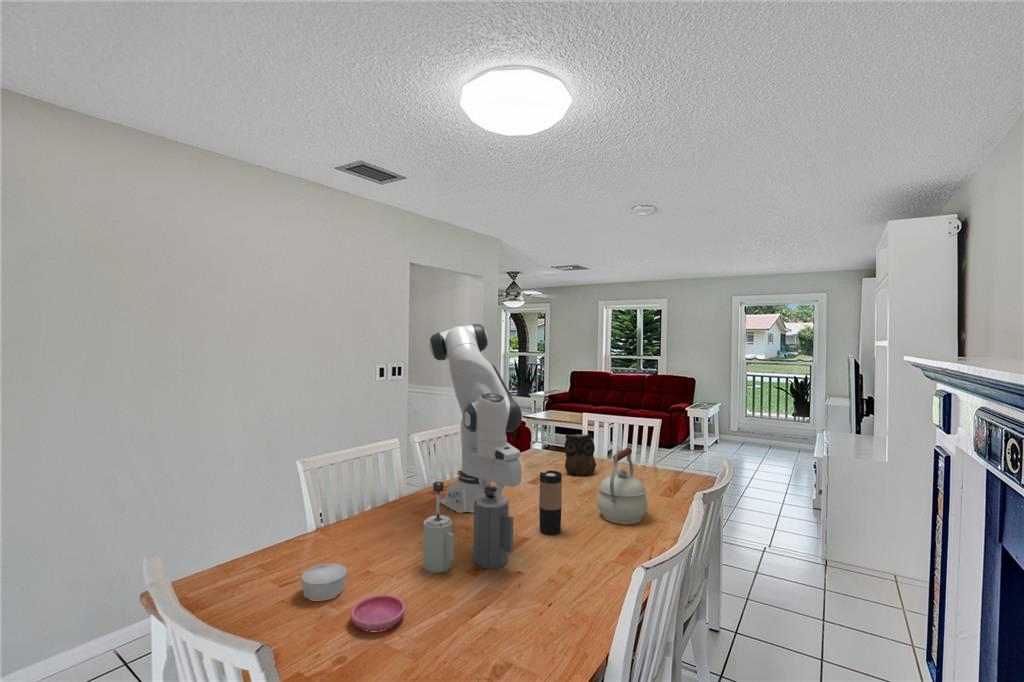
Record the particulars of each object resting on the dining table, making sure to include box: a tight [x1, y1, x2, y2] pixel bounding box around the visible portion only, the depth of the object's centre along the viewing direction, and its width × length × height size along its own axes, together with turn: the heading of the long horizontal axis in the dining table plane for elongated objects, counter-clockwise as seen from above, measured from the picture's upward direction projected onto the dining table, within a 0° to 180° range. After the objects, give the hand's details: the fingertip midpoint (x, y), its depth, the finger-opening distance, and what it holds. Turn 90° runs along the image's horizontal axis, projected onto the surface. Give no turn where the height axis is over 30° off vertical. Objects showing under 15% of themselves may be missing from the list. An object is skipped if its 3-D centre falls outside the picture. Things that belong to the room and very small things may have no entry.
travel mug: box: [538, 470, 563, 536], centre depth 170 cm, size 8×8×20 cm
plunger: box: [486, 485, 498, 501], centre depth 147 cm, size 4×4×13 cm
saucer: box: [350, 594, 406, 631], centre depth 116 cm, size 12×12×3 cm
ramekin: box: [300, 563, 348, 600], centre depth 128 cm, size 11×11×5 cm
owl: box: [564, 433, 597, 478], centre depth 240 cm, size 13×13×20 cm
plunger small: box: [432, 481, 445, 518], centre depth 143 cm, size 3×3×10 cm
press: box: [472, 495, 514, 570], centre depth 146 cm, size 13×11×18 cm
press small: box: [422, 514, 455, 574], centre depth 142 cm, size 10×8×14 cm
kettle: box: [596, 447, 648, 525], centre depth 185 cm, size 25×18×25 cm
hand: (491, 495), depth 147 cm, fingers closed on plunger, 4 cm apart
